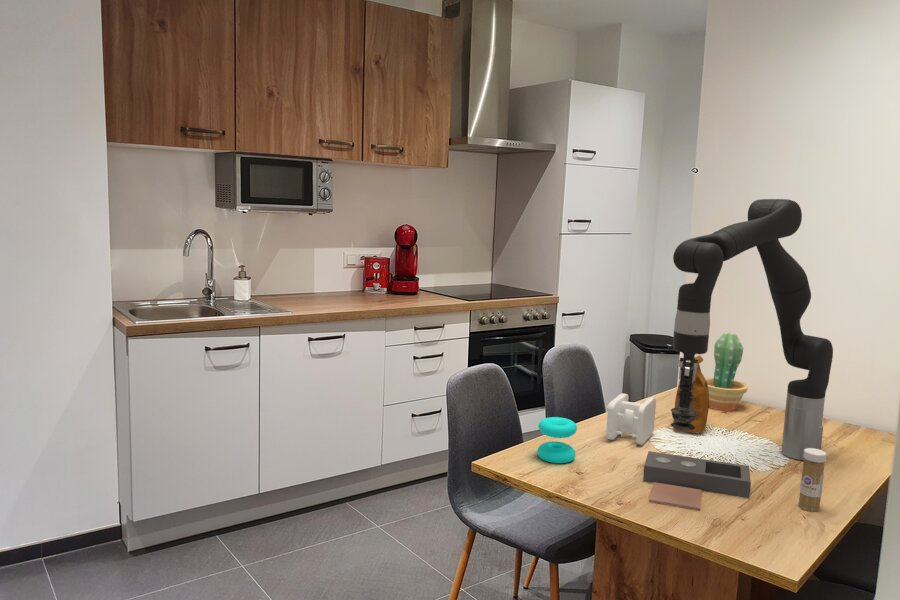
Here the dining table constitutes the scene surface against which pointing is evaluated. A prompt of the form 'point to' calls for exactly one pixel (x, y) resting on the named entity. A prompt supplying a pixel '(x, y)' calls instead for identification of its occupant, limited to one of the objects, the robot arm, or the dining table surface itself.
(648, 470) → the socket strip
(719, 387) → the potted cactus
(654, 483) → the tile pad
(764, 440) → the dining table surface
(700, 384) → the coffee package
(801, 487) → the sprinkles bottle
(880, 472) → the dining table surface
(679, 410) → the dark chess piece
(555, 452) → the donuts
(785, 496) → the dining table surface
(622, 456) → the dining table surface
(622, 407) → the cable organizer
